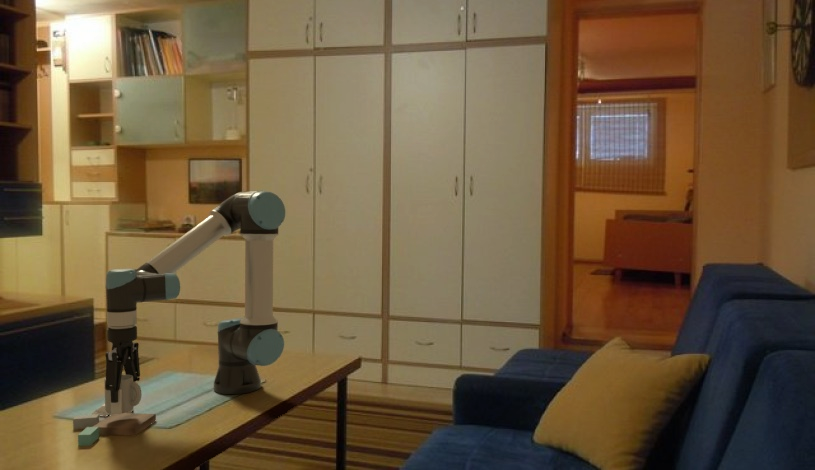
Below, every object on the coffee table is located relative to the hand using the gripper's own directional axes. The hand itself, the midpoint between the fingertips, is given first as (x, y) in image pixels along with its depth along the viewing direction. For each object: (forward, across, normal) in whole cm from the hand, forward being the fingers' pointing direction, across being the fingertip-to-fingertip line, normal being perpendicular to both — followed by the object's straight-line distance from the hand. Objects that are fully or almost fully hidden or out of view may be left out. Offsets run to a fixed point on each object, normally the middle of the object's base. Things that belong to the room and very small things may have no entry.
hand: (123, 409), depth 188 cm
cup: (0, 0, 0) cm, 1 cm away
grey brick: (+5, 0, -11) cm, 12 cm away
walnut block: (+5, 0, 0) cm, 5 cm away
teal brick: (+5, +11, -4) cm, 13 cm away
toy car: (+6, -12, -9) cm, 16 cm away
